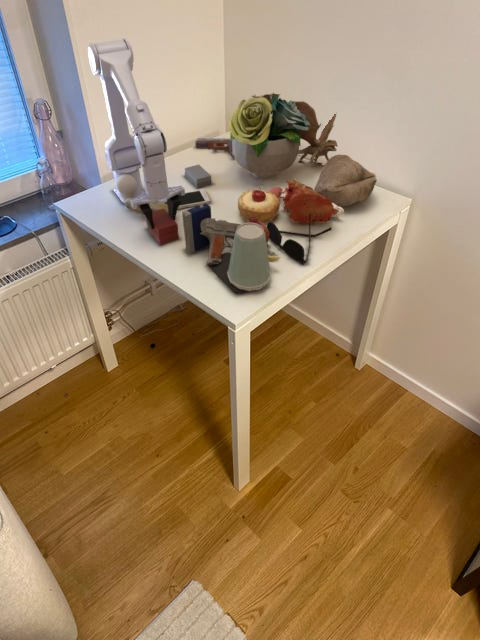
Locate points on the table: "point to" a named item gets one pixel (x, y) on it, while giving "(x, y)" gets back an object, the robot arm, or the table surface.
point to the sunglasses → (291, 241)
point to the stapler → (338, 210)
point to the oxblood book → (163, 222)
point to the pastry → (258, 205)
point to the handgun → (215, 144)
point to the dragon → (316, 146)
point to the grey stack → (198, 176)
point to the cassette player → (195, 227)
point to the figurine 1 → (152, 206)
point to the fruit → (255, 220)
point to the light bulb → (126, 186)
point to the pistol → (217, 237)
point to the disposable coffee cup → (249, 258)
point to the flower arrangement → (266, 134)
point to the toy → (271, 253)
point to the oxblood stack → (164, 236)
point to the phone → (225, 272)
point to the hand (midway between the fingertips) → (161, 224)
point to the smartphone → (193, 199)
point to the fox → (273, 258)
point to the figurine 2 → (278, 192)
